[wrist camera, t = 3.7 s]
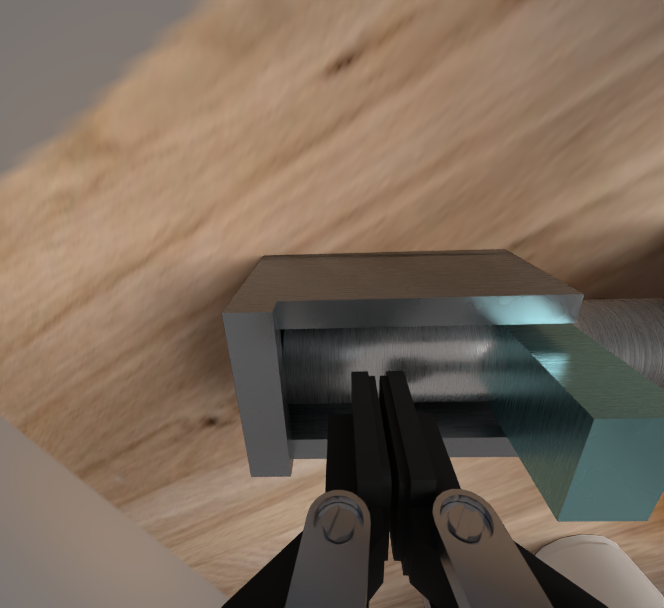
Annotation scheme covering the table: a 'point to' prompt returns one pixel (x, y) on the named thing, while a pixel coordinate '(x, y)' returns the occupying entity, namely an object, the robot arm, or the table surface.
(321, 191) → the table surface
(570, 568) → the foam cup
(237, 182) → the table surface
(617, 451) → the tube
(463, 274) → the sleeve
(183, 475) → the table surface
